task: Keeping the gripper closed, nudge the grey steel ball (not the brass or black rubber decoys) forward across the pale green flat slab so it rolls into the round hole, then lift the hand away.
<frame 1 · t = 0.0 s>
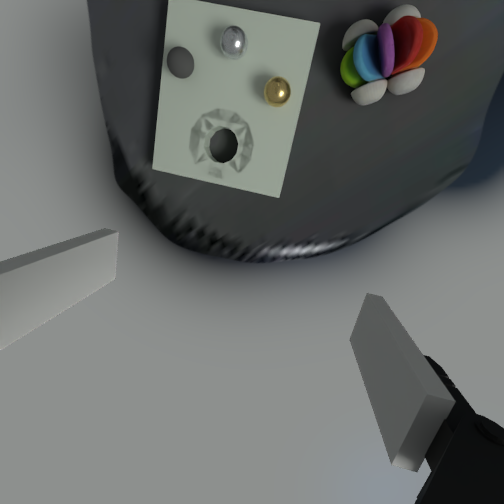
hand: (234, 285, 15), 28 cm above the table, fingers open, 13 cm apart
steel ball: (234, 43, 32), point 4 cm above the table, touching pale green flat slab
pale green flat slab: (231, 107, 38), on the table
rainbow disc rolling toy: (377, 65, 35), on the table
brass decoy: (277, 92, 33), point 4 cm above the table, touching pale green flat slab
rubber decoy: (180, 62, 34), point 4 cm above the table, touching pale green flat slab
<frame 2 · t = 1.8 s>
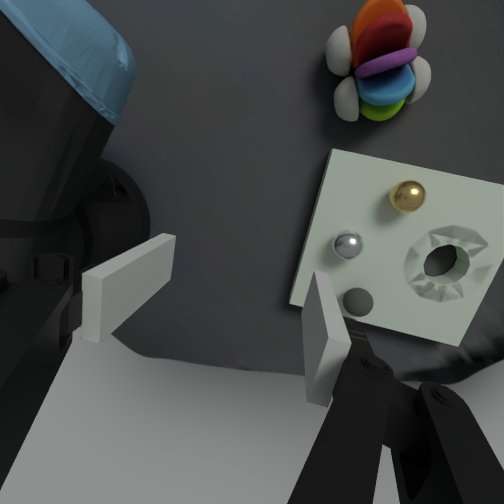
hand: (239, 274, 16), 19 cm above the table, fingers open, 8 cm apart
steel ball: (347, 244, 30), point 4 cm above the table, touching pale green flat slab
pale green flat slab: (392, 247, 33), on the table
rainbow disc rolling toy: (370, 74, 29), on the table
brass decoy: (407, 196, 28), point 4 cm above the table, touching pale green flat slab
rubber decoy: (357, 302, 31), point 4 cm above the table, touching pale green flat slab
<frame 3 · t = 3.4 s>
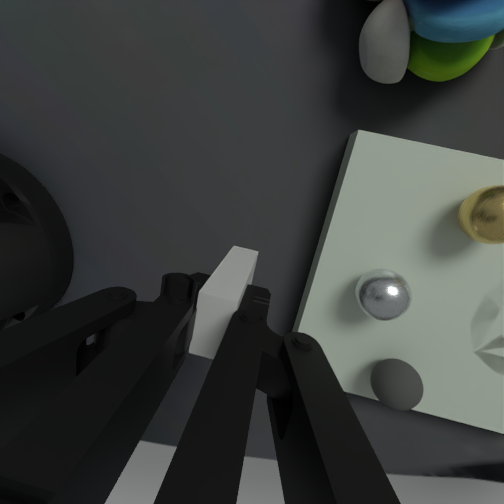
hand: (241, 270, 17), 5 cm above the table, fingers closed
steel ball: (382, 294, 18), point 4 cm above the table, touching pale green flat slab
pale green flat slab: (445, 290, 21), on the table
rainbow disc rolling toy: (421, 2, 17), on the table
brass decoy: (493, 215, 16), point 4 cm above the table, touching pale green flat slab
rubber decoy: (395, 383, 19), point 4 cm above the table, touching pale green flat slab
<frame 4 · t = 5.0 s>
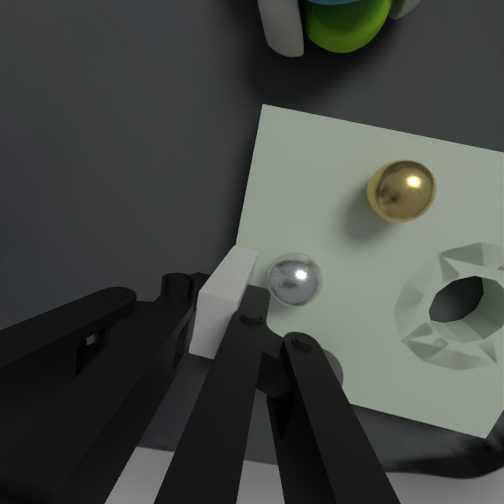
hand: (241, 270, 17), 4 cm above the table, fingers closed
steel ball: (294, 279, 17), point 4 cm above the table, touching pale green flat slab
pale green flat slab: (376, 277, 20), on the table
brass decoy: (399, 192, 15), point 4 cm above the table, touching pale green flat slab
rubber decoy: (317, 373, 18), point 4 cm above the table, touching pale green flat slab
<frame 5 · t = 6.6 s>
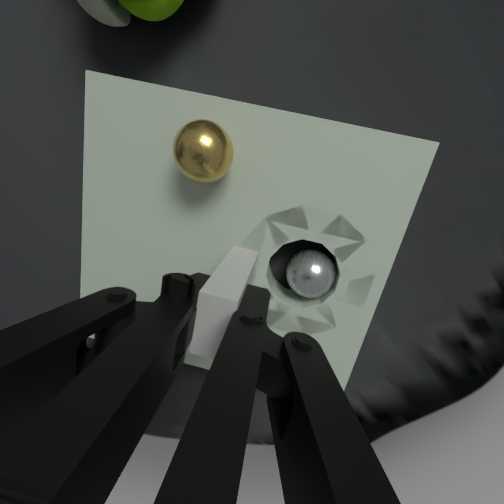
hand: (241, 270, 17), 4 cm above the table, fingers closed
steel ball: (310, 273, 19), point 2 cm above the table, tilted 87°
pale green flat slab: (233, 246, 21), on the table
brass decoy: (203, 152, 15), point 4 cm above the table, touching pale green flat slab
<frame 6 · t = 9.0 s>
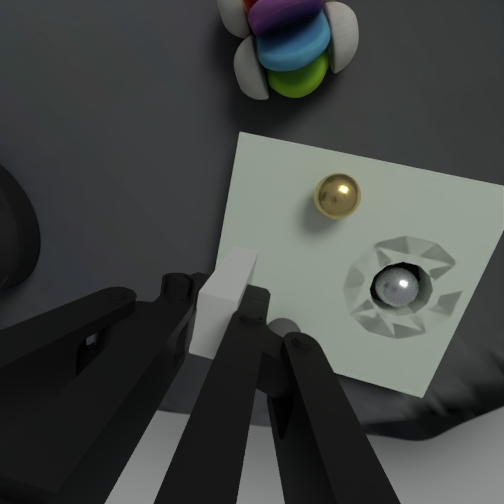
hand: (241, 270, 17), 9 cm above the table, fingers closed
steel ball: (396, 286, 23), point 2 cm above the table, tilted 65°
pale green flat slab: (334, 264, 25), on the table
rainbow disc rolling toy: (288, 37, 22), on the table
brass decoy: (336, 196, 20), point 4 cm above the table, touching pale green flat slab
rubber decoy: (282, 337, 24), point 4 cm above the table, touching pale green flat slab
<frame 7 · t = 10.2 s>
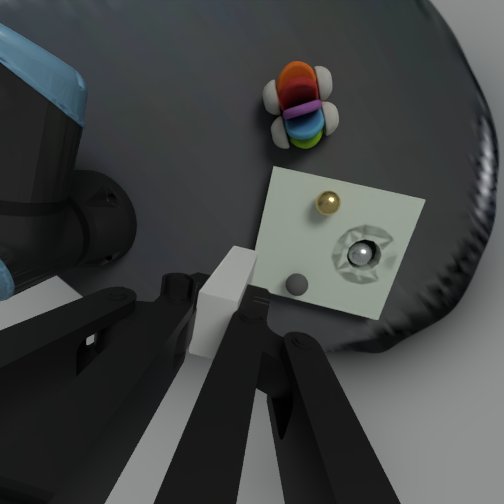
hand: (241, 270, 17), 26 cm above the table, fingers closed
steel ball: (359, 253, 40), point 2 cm above the table, tilted 54°
pale green flat slab: (326, 242, 42), on the table
rainbow disc rolling toy: (300, 112, 38), on the table
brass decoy: (327, 203, 37), point 4 cm above the table, touching pale green flat slab
rubber decoy: (296, 284, 40), point 4 cm above the table, touching pale green flat slab
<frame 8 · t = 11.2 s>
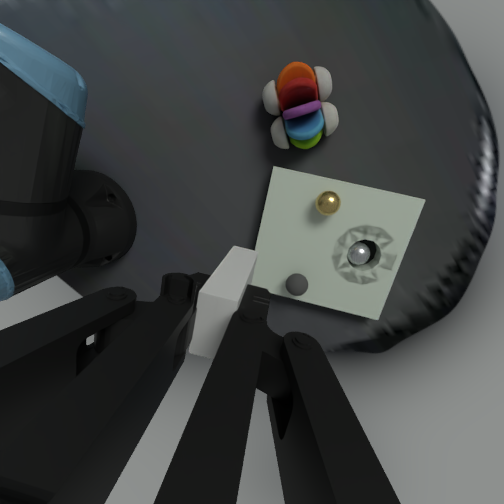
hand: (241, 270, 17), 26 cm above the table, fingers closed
steel ball: (358, 253, 40), point 2 cm above the table, tilted 45°
pale green flat slab: (326, 242, 42), on the table
rainbow disc rolling toy: (299, 112, 38), on the table
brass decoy: (327, 203, 37), point 4 cm above the table, touching pale green flat slab
rubber decoy: (296, 284, 40), point 4 cm above the table, touching pale green flat slab
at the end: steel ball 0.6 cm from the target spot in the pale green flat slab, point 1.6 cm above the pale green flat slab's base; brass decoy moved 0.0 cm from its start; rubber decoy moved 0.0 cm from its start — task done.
